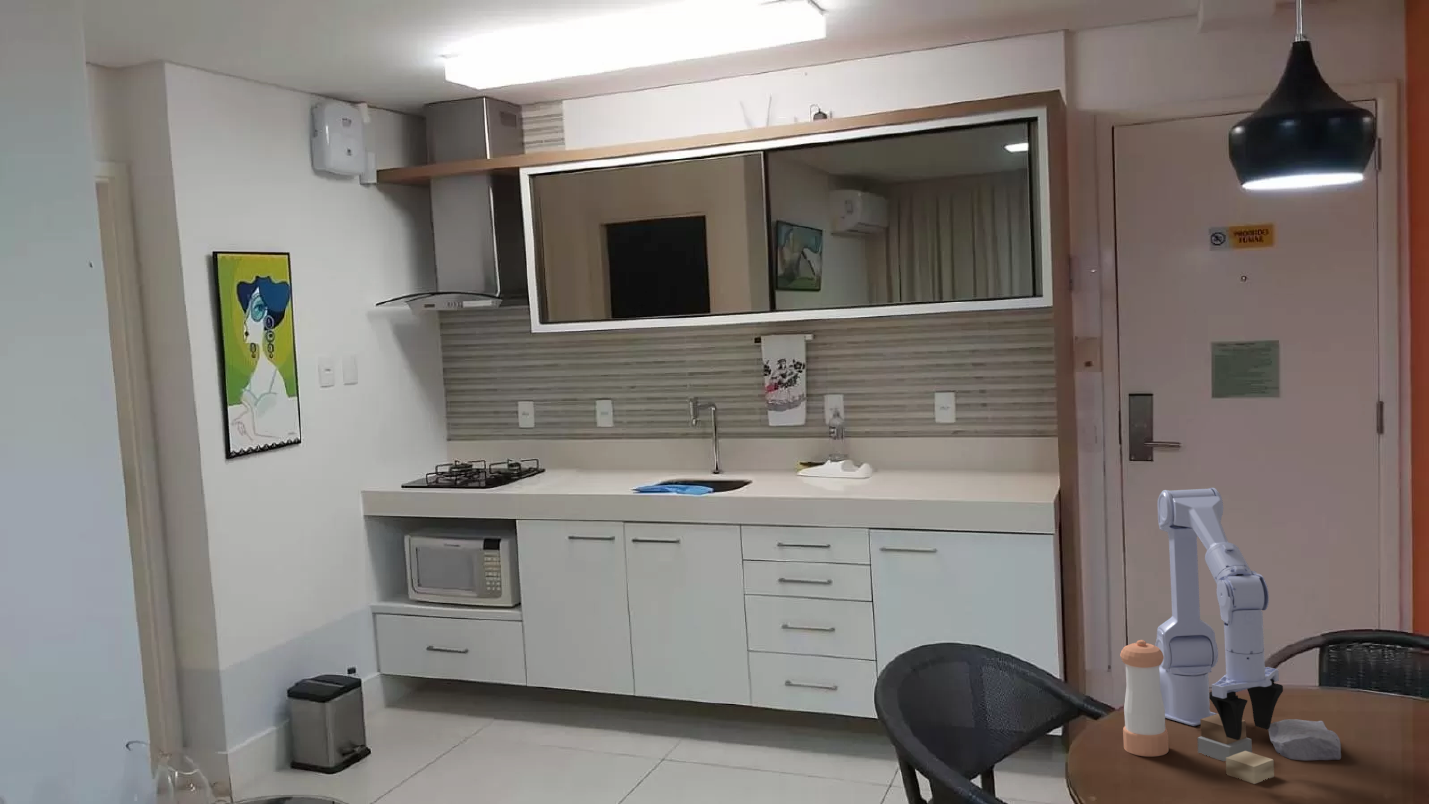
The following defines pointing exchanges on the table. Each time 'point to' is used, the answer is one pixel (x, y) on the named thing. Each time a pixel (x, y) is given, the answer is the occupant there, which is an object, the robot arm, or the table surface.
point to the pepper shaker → (1144, 701)
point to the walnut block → (1218, 729)
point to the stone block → (1304, 740)
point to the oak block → (1249, 767)
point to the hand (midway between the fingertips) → (1247, 732)
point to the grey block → (1223, 748)
